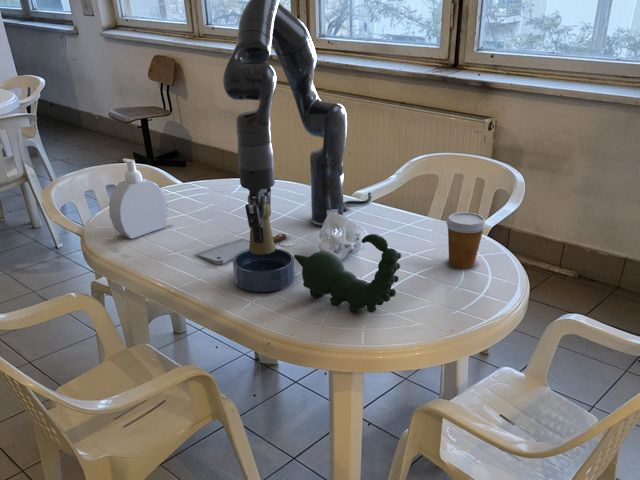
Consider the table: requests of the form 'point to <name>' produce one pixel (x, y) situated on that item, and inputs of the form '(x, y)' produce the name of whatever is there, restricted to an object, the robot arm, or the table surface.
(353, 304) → the toy figurine
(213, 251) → the kitchen cleaver
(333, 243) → the skull bowl
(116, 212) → the soap bottle
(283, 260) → the bowl
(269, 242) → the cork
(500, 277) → the table surface
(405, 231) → the table surface
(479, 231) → the disposable coffee cup
